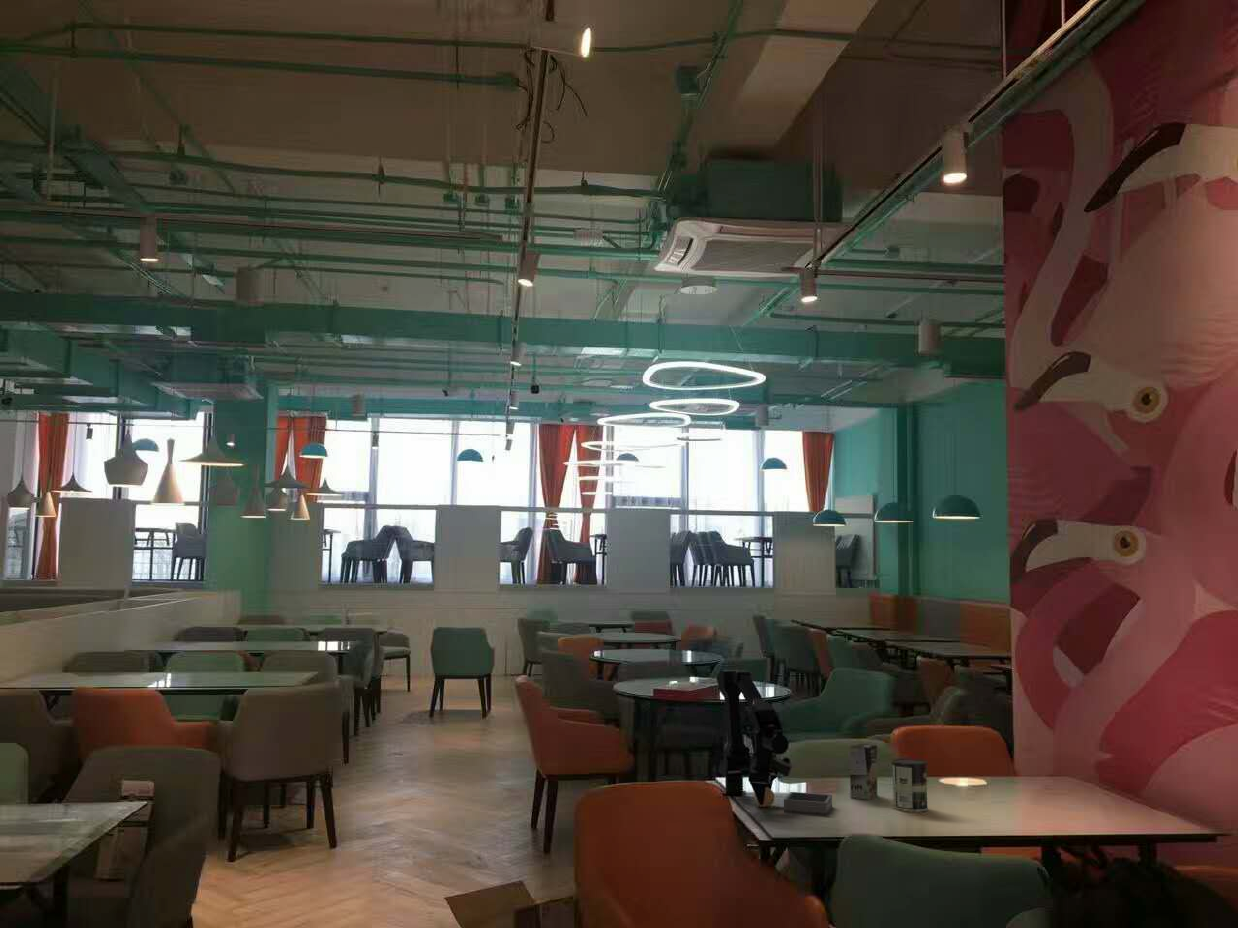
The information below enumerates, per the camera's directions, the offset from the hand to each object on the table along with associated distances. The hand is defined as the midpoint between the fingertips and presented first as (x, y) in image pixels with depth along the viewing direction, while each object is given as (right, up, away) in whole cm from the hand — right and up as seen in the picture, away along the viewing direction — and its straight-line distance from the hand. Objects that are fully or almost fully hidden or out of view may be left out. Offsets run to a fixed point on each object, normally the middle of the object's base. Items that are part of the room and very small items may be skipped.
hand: (764, 801), depth 308 cm
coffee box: (+35, -4, +17) cm, 39 cm away
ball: (0, +1, 0) cm, 2 cm away
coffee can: (+45, -2, 0) cm, 45 cm away
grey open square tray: (+13, -1, -3) cm, 13 cm away
